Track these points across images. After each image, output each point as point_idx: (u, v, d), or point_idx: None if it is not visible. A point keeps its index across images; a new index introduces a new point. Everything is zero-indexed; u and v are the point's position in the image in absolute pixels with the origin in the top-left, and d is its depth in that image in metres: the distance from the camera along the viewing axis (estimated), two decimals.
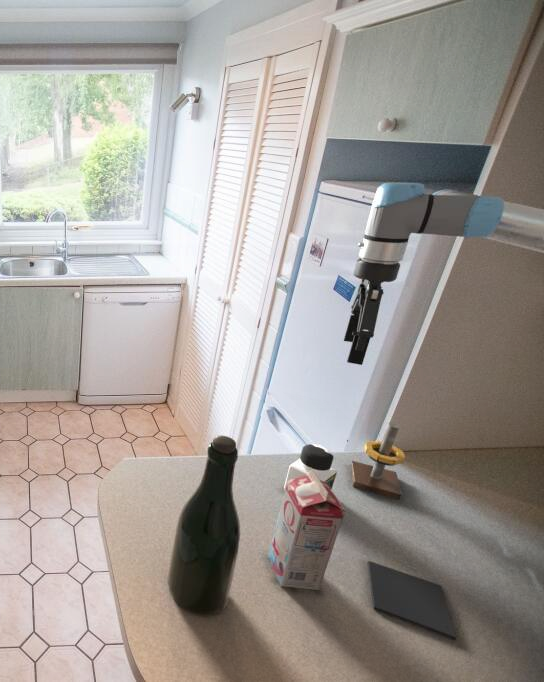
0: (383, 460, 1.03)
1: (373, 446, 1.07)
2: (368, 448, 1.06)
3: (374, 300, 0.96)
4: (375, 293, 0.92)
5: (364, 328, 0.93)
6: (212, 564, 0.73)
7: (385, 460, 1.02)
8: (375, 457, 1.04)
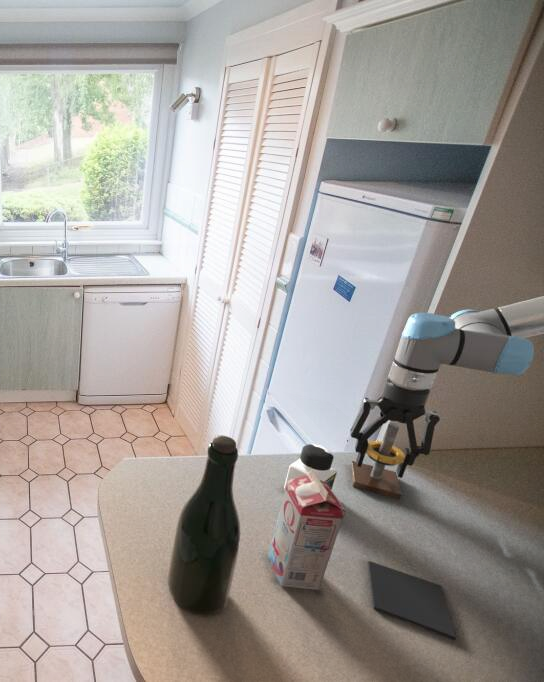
0: (383, 460, 1.03)
1: (373, 446, 1.07)
2: (368, 448, 1.06)
3: None
4: None
5: None
6: (212, 564, 0.73)
7: (385, 460, 1.02)
8: (375, 457, 1.04)
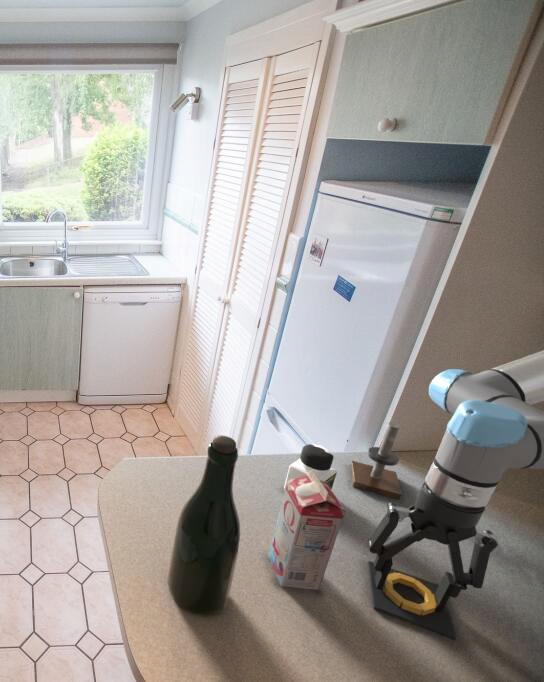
0: (407, 608, 0.78)
1: (393, 581, 0.82)
2: (387, 587, 0.81)
3: None
4: None
5: None
6: (212, 564, 0.73)
7: (410, 608, 0.77)
8: (397, 602, 0.79)
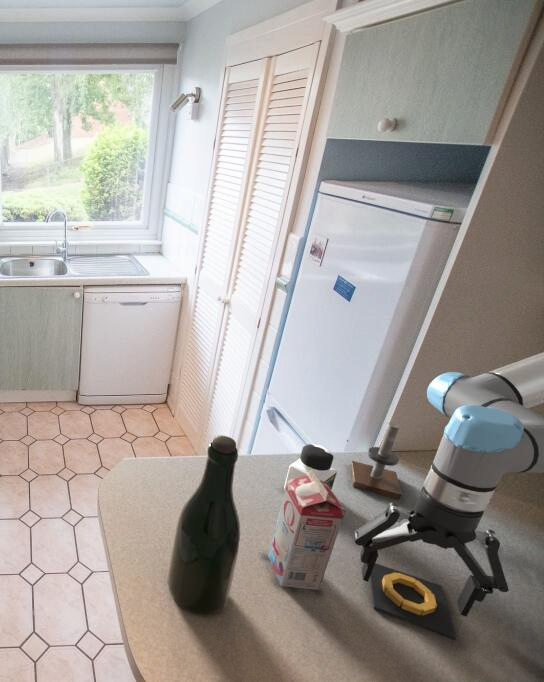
0: (408, 608, 0.78)
1: (393, 582, 0.82)
2: (387, 587, 0.81)
3: None
4: None
5: (505, 580, 0.72)
6: (212, 564, 0.73)
7: (410, 609, 0.77)
8: (397, 602, 0.79)
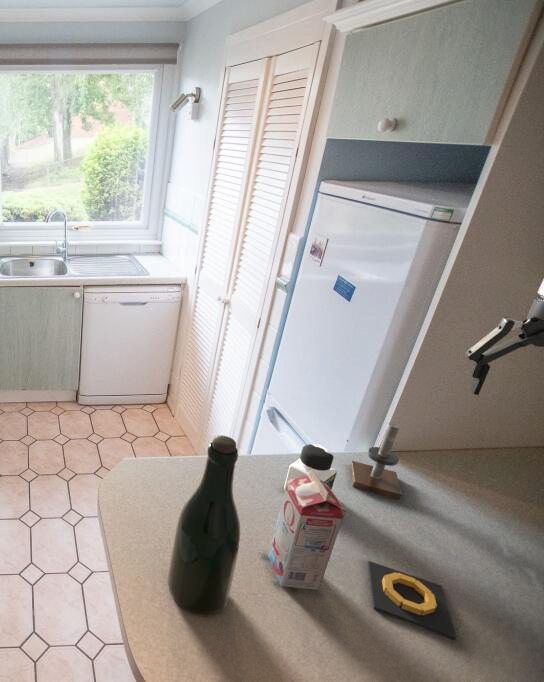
0: (408, 608, 0.78)
1: (393, 582, 0.82)
2: (387, 587, 0.81)
3: None
4: None
5: None
6: (212, 564, 0.73)
7: (410, 609, 0.77)
8: (397, 602, 0.79)
